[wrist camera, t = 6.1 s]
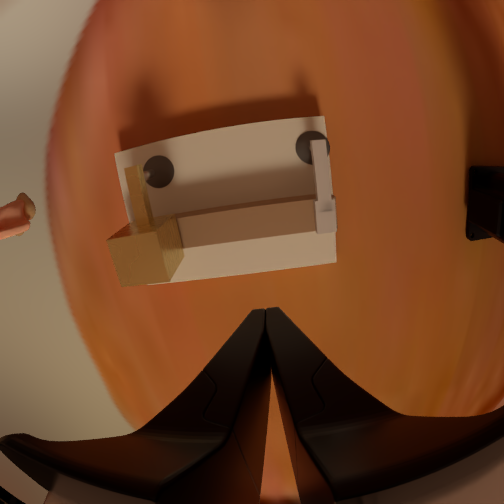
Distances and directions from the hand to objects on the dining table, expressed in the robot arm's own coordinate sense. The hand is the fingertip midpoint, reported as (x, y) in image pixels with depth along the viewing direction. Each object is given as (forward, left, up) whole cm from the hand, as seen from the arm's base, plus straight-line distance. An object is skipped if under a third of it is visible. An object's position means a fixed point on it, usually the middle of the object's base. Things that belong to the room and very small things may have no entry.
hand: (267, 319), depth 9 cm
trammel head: (+7, -2, -10) cm, 12 cm away
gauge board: (+2, -2, -12) cm, 12 cm away
